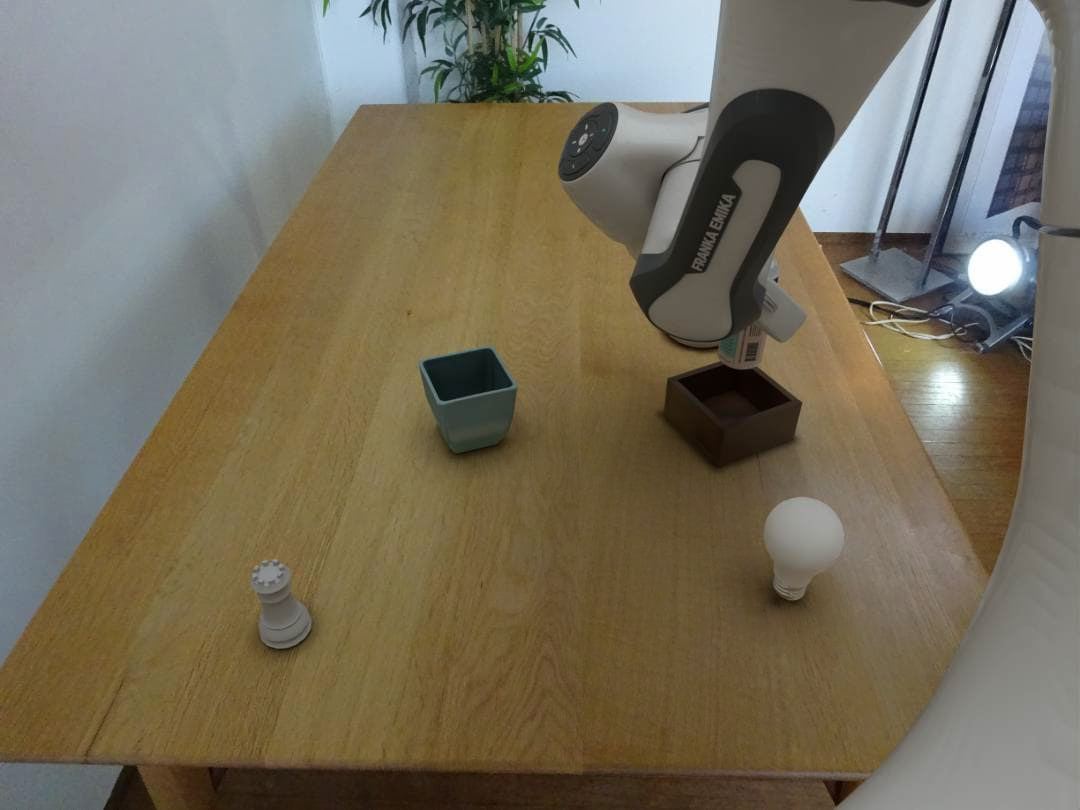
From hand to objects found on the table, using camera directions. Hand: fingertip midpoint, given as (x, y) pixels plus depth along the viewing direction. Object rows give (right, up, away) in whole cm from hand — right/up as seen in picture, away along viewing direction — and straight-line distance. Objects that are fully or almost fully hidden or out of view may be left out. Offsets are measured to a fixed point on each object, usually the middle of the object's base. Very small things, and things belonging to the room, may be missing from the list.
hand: (753, 306), depth 84 cm
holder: (0, -13, +10) cm, 16 cm away
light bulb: (+1, -28, -9) cm, 29 cm away
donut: (-1, -1, +26) cm, 26 cm away
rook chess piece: (-45, -30, -12) cm, 55 cm away
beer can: (-1, -6, +4) cm, 7 cm away
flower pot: (-30, -14, +9) cm, 34 cm away
